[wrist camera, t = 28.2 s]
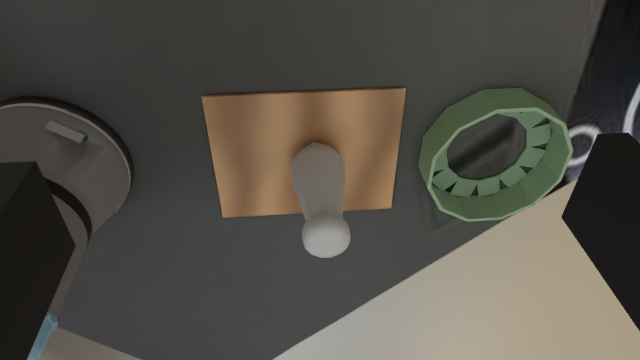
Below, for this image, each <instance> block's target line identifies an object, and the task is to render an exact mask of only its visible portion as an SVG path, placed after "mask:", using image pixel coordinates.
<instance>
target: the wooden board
mask: <svg viewBox="0 0 640 360" xmlns="http://www.w3.org/2000/svg"><path fill="white" fill-rule="evenodd" d="M405 94H406V88H405V87H394V88H369V89H345V90H320V91H295V92H270V93H245V94H221V95H202V97H201V98H202V103H203V109H204V115H205V120H206V126H207V131H208V137H209V142H210V148H211V154H212V159H213V165H214V170H215V176H216V181H217V187H218V193H219V198H220V204H221V209H222V215H223V218H225V217H243V216H260V215H278V214H296V213H303V211H302V209H301V206H300V203H299V200H298V197H297V194H296V191H295V188H294V185H293V182H292V178H291V174H290V169H291V166H292V163H293V159H294V158H295V156H296V155H297V153H298V152H299V151H300V150H301V149H303V148H304V147H306V146H308V145H309V144H311V143H312V142H315V143H320V144H325V145H330V146H331V147H332V148H333V149H334V150H335V151H336V152H337V153H338V154H339V155H340V156H341V158H342V159H343V160H344V163H345V169H346V179H345V192H344V205H343V211H349V210H367V209H384V208H391V204H392V196H393V188H394V181H395V173H396V165H397V157H398V149H399V141H400V133H401V125H402V118H403V110H404V102H405Z"/></svg>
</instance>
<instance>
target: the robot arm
mask: <svg viewBox="0 0 640 360" xmlns="http://www.w3.org/2000/svg"><path fill="white" fill-rule="evenodd" d="M132 179H133V165H132V161H131V158H130V155H129V153H128V151H127V149H126V147H125V145H124V144H123V142H122V141H121V139H120V138H119V137H118V136H117V135H116V134H115V132H114V131H113V130H112V129H111V128H109V127H108V126H107V125H106V124H105V123H103V122H102V121H101V120H99V119H98V118H96V117H95V116H93V115H92V114H90V113H88V112H86V111H84V110H82V109H80V108H78V107H76V106H73V105H70V104H67V103H64V102H61V101H57V100H52V99H46V98H36V97H26V98H17V99H11V100H8V101H4V102H2V103H0V360H39V358H40V357H41V355H42V353H43V350H44V348H45V347H46V345H47V342H48V340H49V338H50V336H51V334H52V333H53V332H54V331H55V330H56V329H57V325H58V324H59V323H58V321H59V319H60V316H61V313H62V311H63V308H64V305H65V303H66V300H67V298H68V295H69V292H70V290H71V287H72V284H73V282H74V279H75V276H76V274H77V271H78V269H79V266H80V263H81V261H82V258H83V255H84V253H85V250H86V247H87V245H88V242H89V240H90V238H91V236H92V235H93V234H94V233H95V231H96V230H97V229H98V228H99V227H100V226H101V225H102V224H103V223H104V222H105V221H106V220H107V219H108V218H110V217H111V216H112V215H113V214H114V213H115V212H116V211H117V210H118V209H119V208H120V207H121V205H122V204H123V202H124V201H125V199H126V197H127V195H128V192H129V190H130V187H131V184H132ZM562 219H563V220H564V222H565V223H566V225H567V226H568V227H569V229H570V230H571V232H572V233H573V235H574V236H575V238H576V239H577V241H578V242H579V243H580V245H581V246H582V248H583V249H584V251H585V252H586V253H587V255H588V257H589V258H590V259H591V261H592V262H593V264H594V265H595V267H596V268H597V270H598V271H599V273H600V274H601V275H602V277H603V278H604V280H605V281H606V283H607V284H608V286H609V287H610V289H611V290H612V291H613V293H614V294H615V296H616V297H617V299H618V300H619V302H620V303H621V305H622V306H623V307H624V309H625V310H626V312H627V313H628V315H629V316H630V318H631V319H632V321H633V322H634V323H635V325H636V326H637V328H638V329H639V331H640V143H639V142H637V141H636V140H635V139H634V138H633V137H632V136H631V135H630V134H629V133H613V134H598V135H597V137H596V140H595V142H594V144H593V146H592V149H591V151H590V153H589V156H588V158H587V160H586V162H585V165H584V167H583V169H582V171H581V174H580V176H579V178H578V180H577V183H576V185H575V187H574V190H573V192H572V194H571V196H570V199H569V201H568V203H567V206H566V208H565V210H564V212H563V215H562Z"/></svg>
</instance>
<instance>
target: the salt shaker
mask: <svg viewBox="0 0 640 360" xmlns="http://www.w3.org/2000/svg"><path fill="white" fill-rule="evenodd" d="M290 174H291V178H292V182H293V185H294V188H295V191H296V194H297V197H298V200H299V203H300V206H301V209H302V211H303V214H304V217H305V220H306V222H305V224H304V227H303V230H302V239H303V243H304V246H305V249H306V250H307V251H308V252H309V253H310V254H312V255H315V256H318V257H321V258H330V257H333V256H336V255H339V254H340V253H342V252H343V251H344V250H345V249H347V247H348V245H349V243H350V237H351V236H350V231H349V226H348V223H347V222H346V221H345V220H344V218H343V205H344V192H345V179H346V169H345V163H344V160H343V159H342V158H341V156H340V155H339V154H338V153H337V152H336V151H335V150H334V149H333V148H332V147H331V146H330V145H325V144H320V143H315V142H312V143H311V144H309V145H308V146H306V147H304V148H303V149H301V150H300V151H299V152H298V153H297V155H296V156H295V158H294V159H293V163H292V166H291V169H290Z"/></svg>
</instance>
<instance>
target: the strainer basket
mask: <svg viewBox="0 0 640 360" xmlns="http://www.w3.org/2000/svg"><path fill="white" fill-rule="evenodd" d="M494 114H500V115H504V116H509V117H514V118H516V119H517V120H518V121H519V122H520V123H521V124H522V126H523V127H524V128H525V129H526V146H525V148H524V149H523V151H522V152H521V154H520V156H519V157H518V159H517V160H516V162H515V163H514V164H512V165H511V166H509V167H508V168H506V169H505V170H503V171H502V172H501V173H499V174H498V175H494V176H490V177H486V178H482V179H478V180H476V179H470V178H464V177H459V176H458V175H457V174H456V173H455V172H454V171H453V170H451V169H450V168H449V167H448V161H447V152H446V151H447V149H448V147H449V145H450V143H451V141H452V140H453V139H454V138H455V136H456V135H457V134H458V133H459V132H460V131H461V130H463V129H465V128H467V127H469V126H471V125H473V124H475V123H477V122H480V121H482V120H484V119H486V118H488V117H490V116H492V115H494ZM546 117H547V118H548V120H549V122H548V123H544V124H540V125H537V124H538V123H539V122H541V121H542V120H544V119H545V118H546ZM535 125H536V126H535ZM551 130H552V132H551ZM550 133H551V135H550ZM545 143H547V146H546V148H545V149H543V148H538V147H533V146H537V145H541V144H545ZM572 153H573V148H572V144H571V141H570V137H569V134H568V130H567V126H566V123H565V122H564V121H563V120H562V119H561V118H560V117H559V116H558V114H557V113H556V112H555V111H554V110H553V109H552V108H551V107H550V105H549V104H548V103H546V102H544V101H543V100H541V99H539V98H538V97H536V96H534V95H533V94H531V93H529V92H527V91H526V90H524V89H522V88H500V89H482V90H480V91H478V92H476V93H474V94H472V95H470V96H468V97H466V98H465V99H463V100H461V101H459V102H457V103H455V104H453V105H451V106H449V107H447V108H446V109H445V110H444V111H443V112H442V114H441V115H440V116H439V117H438V119H437V120H436V121H435V122H434V123H433V125H432V126H431V127H430V128H429V130H428V131H427V132H426V133H425V134H424V136H423V139H422V146H421V152H420V158H419V164H418V166H419V169H420V171H421V174H422V176H423V179H424V181H425V184H426V186H427V189H428V190H429V192H430V194H431V195H432V197H433V199H434V201H435V202H436V204H437V206H438V208H439V209H440V211H443V212H445V213H447V214H450V215H452V216H455V217H457V218H460V219H462V220H464V221H467V222H469V221H486V220H501V219H503V218H506V217H508V216H510V215H513V214H515V213H517V212H520V211H522V210H524V209H527V208H529V207H531V206H533V205H535V204H536V203H537V202H538V201H540V200H541V199H542V198H543V197H544V196H545V195H546V194H547V193H548V192H549V191H550V190H552V189H553V188H554V187H555V186H556V185H557V184H558V183H559V182H560V181H561V180H562V177H563V175H564V172H565V170H566V168H567V165H568V163H569V160H570V158H571V155H572ZM541 158H542V159H541ZM519 165H520V166H525V167H531V169H530V170H529V171H528V172H527V173H526V172H525V171H524V170H523V169H522V168H521V167H520V166H519ZM439 170H440V171H439ZM435 171H439V172H438V173H436V174H435V175H433V173H434V172H435ZM499 179H500V180H501V181H502V182H503V183H504V184H505V185H506V186H507V187H504V188H502V189H500V184H499ZM432 183H433V184H434V185H436V186H437V187H435V186H434V185H433V184H432ZM452 184H454V185H453V187H452V189H451V191H450V192H447V191H444V190H445V189H447V188H448V187H449V186H451V185H452ZM476 185H477V195H473V196H470V195H471V194H472V192H473V190H474V189H475V187H476Z"/></svg>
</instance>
